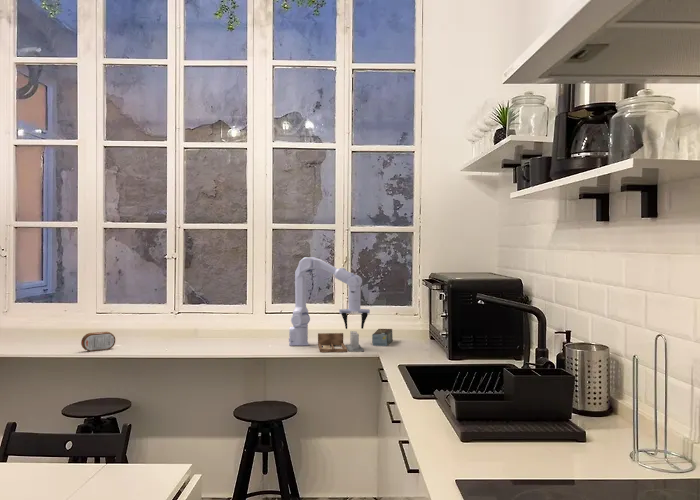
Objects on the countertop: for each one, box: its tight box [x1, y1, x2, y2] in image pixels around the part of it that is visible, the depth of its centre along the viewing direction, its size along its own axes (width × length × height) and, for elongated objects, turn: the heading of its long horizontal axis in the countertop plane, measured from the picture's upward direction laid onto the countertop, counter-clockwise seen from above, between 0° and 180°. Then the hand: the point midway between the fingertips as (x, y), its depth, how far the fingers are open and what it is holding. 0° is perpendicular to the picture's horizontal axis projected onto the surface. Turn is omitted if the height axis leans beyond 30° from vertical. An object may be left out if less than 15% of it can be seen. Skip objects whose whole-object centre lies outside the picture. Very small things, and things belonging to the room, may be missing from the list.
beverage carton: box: [371, 328, 393, 347], centre depth 304 cm, size 8×19×7 cm, turn 168°
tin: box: [80, 331, 116, 352], centre depth 278 cm, size 15×3×8 cm, turn 132°
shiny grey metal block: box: [349, 330, 360, 350], centre depth 287 cm, size 3×11×7 cm, turn 6°
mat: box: [344, 343, 365, 353], centre depth 287 cm, size 7×18×1 cm, turn 6°
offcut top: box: [322, 345, 332, 349], centre depth 286 cm, size 4×13×1 cm, turn 4°
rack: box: [317, 332, 348, 353], centre depth 286 cm, size 12×19×6 cm, turn 6°
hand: (354, 328), depth 287 cm, fingers open, 7 cm apart
